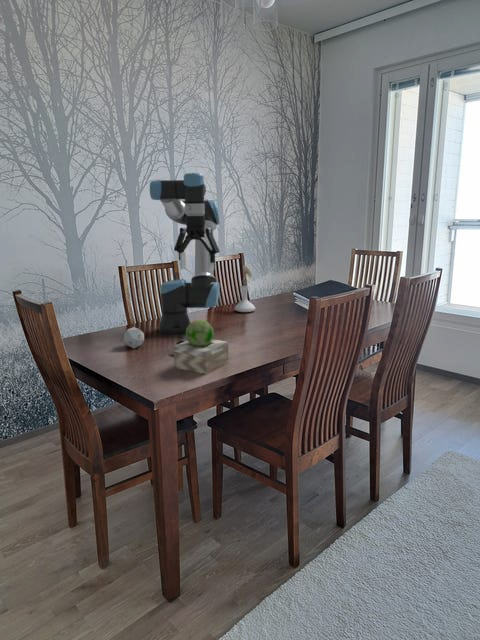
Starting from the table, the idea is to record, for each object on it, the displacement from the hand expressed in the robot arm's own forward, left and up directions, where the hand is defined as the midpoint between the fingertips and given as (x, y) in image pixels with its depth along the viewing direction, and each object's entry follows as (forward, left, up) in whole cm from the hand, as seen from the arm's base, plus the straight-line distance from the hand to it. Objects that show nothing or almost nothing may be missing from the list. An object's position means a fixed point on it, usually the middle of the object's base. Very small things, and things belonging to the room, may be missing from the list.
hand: (197, 270), depth 184 cm
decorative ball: (+15, -18, -25) cm, 34 cm away
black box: (0, -11, -32) cm, 34 cm away
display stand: (+15, -19, -31) cm, 40 cm away
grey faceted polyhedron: (-23, -14, -32) cm, 42 cm away
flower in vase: (-17, +65, -32) cm, 74 cm away
